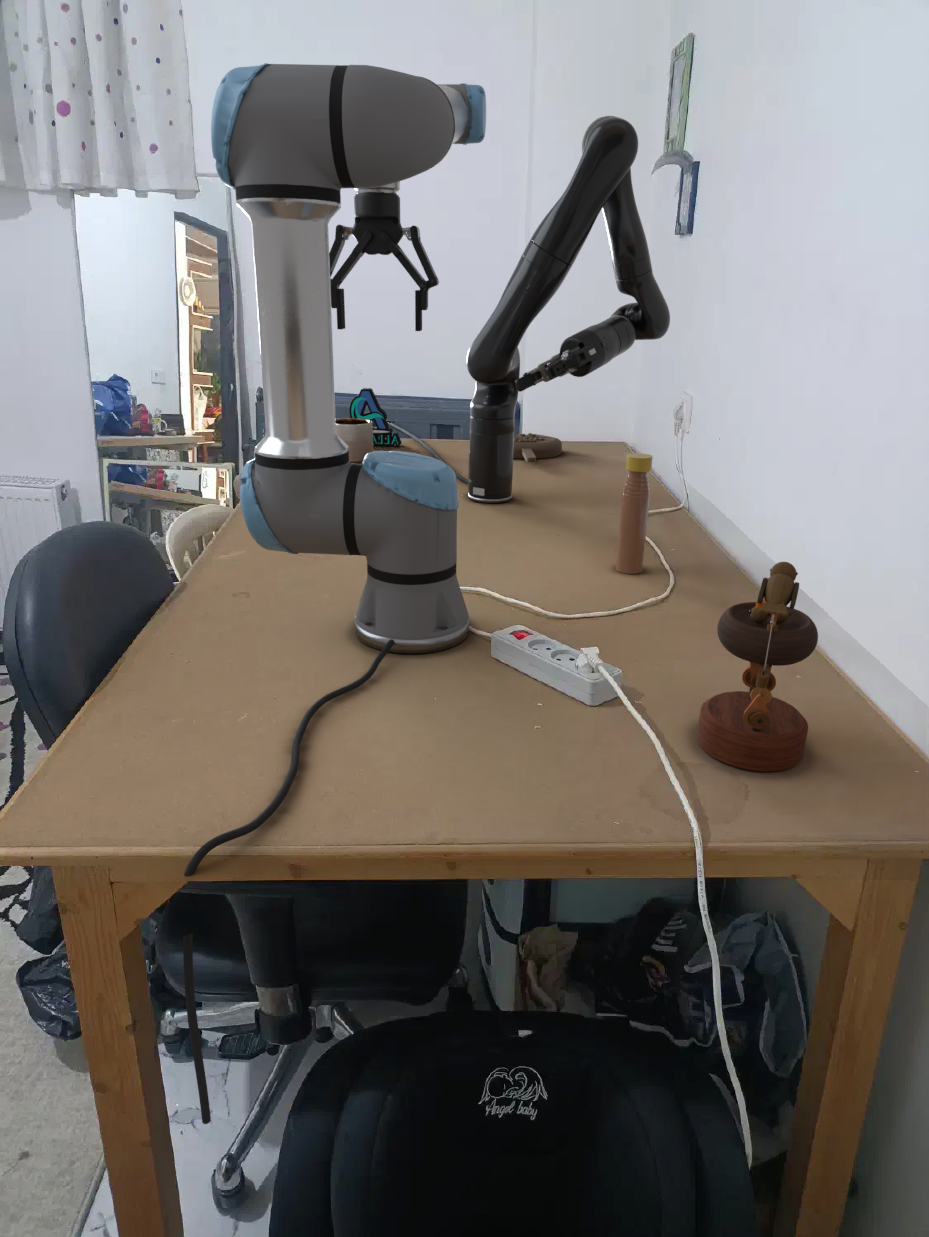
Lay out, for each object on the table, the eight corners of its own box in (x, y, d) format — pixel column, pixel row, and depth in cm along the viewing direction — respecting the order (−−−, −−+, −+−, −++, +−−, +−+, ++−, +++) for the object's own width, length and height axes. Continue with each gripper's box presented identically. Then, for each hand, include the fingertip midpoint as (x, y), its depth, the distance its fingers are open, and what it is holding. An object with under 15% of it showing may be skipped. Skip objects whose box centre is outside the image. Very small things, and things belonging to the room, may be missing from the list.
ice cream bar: (489, 468, 207) (489, 450, 206) (481, 446, 233) (482, 430, 232) (574, 468, 208) (575, 451, 207) (557, 446, 234) (558, 431, 233)
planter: (327, 456, 217) (325, 418, 214) (369, 454, 220) (368, 417, 217) (334, 465, 208) (332, 425, 204) (377, 463, 211) (376, 424, 207)
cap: (623, 470, 131) (624, 456, 130) (628, 465, 134) (629, 452, 133) (649, 473, 129) (650, 459, 129) (652, 468, 133) (654, 454, 132)
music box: (826, 784, 80) (847, 586, 73) (707, 784, 81) (715, 589, 74) (787, 708, 94) (802, 535, 87) (686, 708, 95) (692, 539, 88)
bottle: (613, 572, 137) (623, 459, 130) (618, 564, 141) (628, 454, 134) (639, 575, 136) (651, 462, 129) (644, 567, 139) (655, 456, 132)
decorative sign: (401, 444, 234) (401, 388, 228) (400, 446, 231) (399, 390, 226) (333, 442, 235) (331, 387, 229) (332, 444, 232) (329, 388, 227)
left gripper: (455, 195, 141) (453, 330, 149) (308, 194, 143) (315, 327, 151) (450, 191, 134) (448, 332, 142) (296, 190, 136) (303, 329, 144)
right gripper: (556, 341, 162) (499, 371, 154) (610, 318, 151) (550, 348, 142) (572, 378, 164) (516, 409, 156) (625, 358, 153) (568, 390, 144)
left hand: (379, 330), depth 146 cm, fingers open, 13 cm apart
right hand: (532, 380), depth 149 cm, fingers open, 8 cm apart
